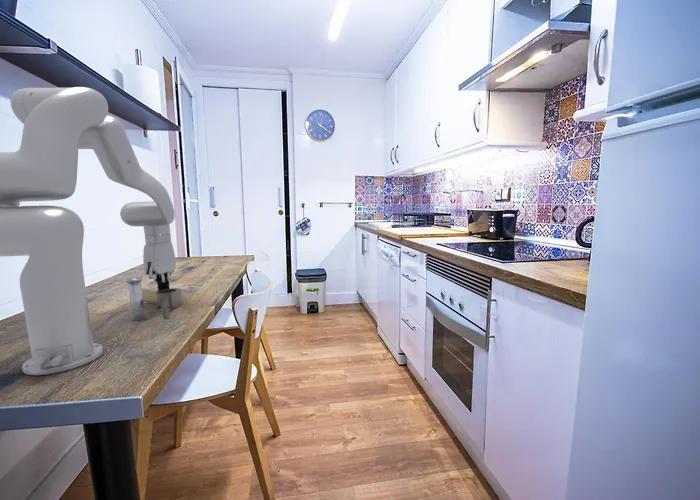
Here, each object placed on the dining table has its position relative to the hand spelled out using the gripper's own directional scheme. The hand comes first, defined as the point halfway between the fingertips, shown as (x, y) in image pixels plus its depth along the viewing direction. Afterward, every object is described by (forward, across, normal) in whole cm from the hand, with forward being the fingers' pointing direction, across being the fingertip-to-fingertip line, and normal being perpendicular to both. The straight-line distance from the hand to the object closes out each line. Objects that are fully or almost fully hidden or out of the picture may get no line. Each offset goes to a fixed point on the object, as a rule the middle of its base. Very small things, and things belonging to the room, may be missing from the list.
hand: (164, 292), depth 113 cm
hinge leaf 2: (+2, +12, +10) cm, 16 cm away
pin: (+2, +20, +7) cm, 21 cm away
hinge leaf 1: (+2, +5, -1) cm, 5 cm away
